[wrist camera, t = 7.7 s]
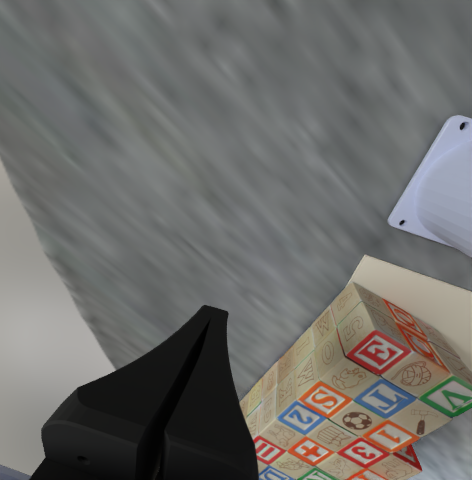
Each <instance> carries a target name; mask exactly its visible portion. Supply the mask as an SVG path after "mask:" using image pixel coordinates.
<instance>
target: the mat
mask: <svg viewBox="0 0 472 480" xmlns="http://www.w3.org/2000/svg"><path fill="white" fill-rule="evenodd" d="M351 281H352V282H354V283H356V284H358V285H360V286H362V287H363V288H365V289H367V290H369V291H370V292H372V293H374V294H376V295H378V296H380V297H381V298H383V299H385V300H387V301H389V302H390V303H392V304H394V305H396V306H398V307H399V308H401V309H403V310H404V311H406V312H408V313H409V314H410V315H411V316H414V317H415V318H417V319H419V320H420V321H422V322H424V323H426V324H427V325H429V326H431V327H432V328H434V329H436V330H437V331H439V332H440V333H441V334H442V336H443V337H444V338H445V339H446V341H447V342H448V343H449V344H450V346H451V347H452V348H453V349H454V350H455V351H456V353H457V354H458V355H459V356H460V359H461V360H462V361H463V362H464V364H465V365H466V366H467V367H468V368H469V370H470V371H471V372H472V291H469V290H466V289H463V288H460V287H457V286H455V285H452V284H449V283H446V282H443V281H440V280H437V279H434V278H432V277H429V276H426V275H423V274H420V273H417V272H414V271H411V270H409V269H406V268H403V267H400V266H397V265H394V264H391V263H388V262H385V261H383V260H380V259H377V258H374V257H371V256H368V255H364V257H363V258H362V260H361V262H360V263H359V265H358V267H357V269H356V270H355V272H354V274H353V275H352V277H351V279H350V280H349V282H348V284H349V283H350V282H351ZM348 284H347V285H348ZM347 285H346V286H347ZM345 288H346V287H345Z"/></svg>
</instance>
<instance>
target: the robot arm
mask: <svg viewBox="0 0 472 480" xmlns="http://www.w3.org/2000/svg"><path fill="white" fill-rule="evenodd" d="M462 123H465V127H464V129H463V130H460V128H459V127H460V125H461V124H462ZM402 220H404V221H405V222H404V223H403V224H402V225H399V223H400V221H402ZM388 223H389V225H391V226H392V227H395V228H398V229H401V230H404V231H407V232H410V233H413V234H416V235H418V236H421V237H424V238H427V239H430V240H433V241H436V242H439V243H442V244H445V245H448V246H451V247H454V248H456V249H458V250H459V251H461V252H463V253H464V254H466V255H468V256H469V257H471V258H472V119H471V118H468V117H465V116H461V115H456V116H452V117H450V118H449V119H448V120H447V121H446V122H445V124H444V126H443V127H442V129H441V131H440V132H439V134H438V136H437V137H436V139H435V141H434V142H433V144H432V146H431V147H430V149H429V151H428V152H427V154H426V156H425V157H424V159H423V161H422V162H421V164H420V166H419V167H418V169H417V171H416V172H415V174H414V176H413V178H412V179H411V181H410V183H409V184H408V186H407V188H406V189H405V191H404V193H403V194H402V196H401V198H400V199H399V201H398V203H397V204H396V206H395V208H394V209H393V211H392V213H391V214H390V216H389V218H388ZM228 314H229V313H228V312H227V311H225V310H221V309H218V308H214V307H211V306H207V305H203V306H202V307H201V308H200V309H199V310H198V312H197V313H196V314H195V315H194V316H193V317H192V318H191V319H190V320H189V321H188V322H187V323H185V324H184V325H183V326H182V327H181V328H180V329H179V330H178V331H176V332H175V333H174V334H173V335H172V336H170V337H169V338H168V339H167V340H165V341H164V342H163V343H161V344H160V345H158V346H157V347H156V348H154V349H153V350H151V351H150V352H148V353H146V354H145V355H143V356H142V357H140V358H138V359H137V360H135V361H133V362H131V363H130V364H128V365H126V366H124V367H122V368H120V369H118V370H116V371H114V372H112V373H110V374H108V375H106V376H104V377H102V378H99V379H97V380H95V381H92V382H90V383H87V384H85V385H83V386H80V387H78V388H77V389H76V390H75V391H74V392H73V393H72V394H71V395H70V396H69V397H68V398H67V399H66V400H65V401H64V402H63V403H62V404H61V405H60V406H59V407H58V409H57V410H56V411H55V412H54V414H53V415H52V416H51V417H50V418H49V419H48V420H47V422H46V423H45V424H44V426H43V428H42V430H41V431H42V432H41V433H42V435H41V436H42V442H43V447H44V452H45V456H46V458H45V459H44V460H43V461H42V463H41V464H40V465H39V467H38V468H37V469H36V471H35V472H34V473H33V475H32V476H29V475H27V474H24V473H21V472H19V471H16V470H13V469H11V468H8V467H5V466H2V465H0V480H259V471H258V462H257V455H256V448H255V443H254V441H253V438H252V436H251V434H250V431H249V429H248V426H247V424H246V421H245V418H244V415H243V412H242V410H241V406H240V403H239V400H238V397H237V393H236V390H235V386H234V382H233V378H232V373H231V368H230V362H229V355H228V347H227V318H228Z"/></svg>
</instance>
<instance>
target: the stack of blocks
mask: <svg viewBox="0 0 472 480" xmlns="http://www.w3.org/2000/svg"><path fill="white" fill-rule="evenodd" d="M240 406H241V410H242V412H243V415H244V418H245V421H246V424H247V426H248V429H249V431H250V434H251V436H252V438H253V441H254V443H255V448H256V455H257V462H258V471H259V480H406V479H408V478H410V477H412V476H414V475H416V474H418V473H420V472H422V468H421V465H420V463H419V461H418V459H417V456H416V454H415V452H414V449H413V447H412V445H411V444H412V443H414V442H415V441H417V440H418V439H420V437H423V436H425V435H427V434H429V433H430V432H432V431H434V430H436V429H438V428H439V427H441V426H443V425H444V424H446V423H448V422H450V421H451V420H452V419H453V417H455V416H458V415H460V414H462V413H464V412H465V411H467V410H469V409H470V408H472V372H471V371H470V370H469V368H468V367H467V366H466V365H465V364H464V362H463V361H462V360H461V359H460V356H459V355H458V354H457V353H456V351H455V350H454V349H453V348H452V347H451V346H450V344H449V343H448V342H447V341H446V339H445V338H444V337H443V336H442V334H441V333H440V332H439V331H437V330H436V329H434V328H432V327H431V326H429V325H427V324H426V323H424V322H422V321H420V320H419V319H417V318H415V317H414V316H411V315H410V314H409V313H408V312H406V311H404V310H403V309H401V308H399V307H398V306H396V305H394V304H392V303H390V302H389V301H387V300H385V299H383V298H381V297H380V296H378V295H376V294H374V293H372V292H370V291H369V290H367V289H365V288H363V287H362V286H360V285H358V284H356V283H354V282H352V281H351V282H350V283H349V284H348V285H347V286H346V288H345V289H344V290H343V291H342V292H341V293H340V294H339V295H338V296H337V297H336V298H335V299H334V300H333V301H332V303H331V304H330V305H329V306H328V307H327V308H326V309H325V311H324V312H323V313H322V314H321V315H320V316H319V317H318V318H317V319H316V320H315V321H314V323H313V324H312V325H311V327H309V328H308V329H307V331H306V332H305V333H304V334H303V335H302V336H301V337H300V338H299V339H298V340H297V341H296V342H295V344H294V345H293V346H292V347H291V348H290V349H289V350H288V351H287V352H286V353H285V354H284V355H283V356H282V357H281V358H280V359H279V361H277V362H276V363H275V364H274V365H273V366H272V367H271V368H270V369H269V370H268V371H267V373H266V374H265V375H264V376H263V377H262V378H261V379H260V380H259V381H258V382H257V384H256V385H255V386H254V387H253V388H252V389H251V390H250V392H249V393H248V394H247V395H246V396H245V397H244V398H243V399H242V400H241V402H240Z"/></svg>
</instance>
